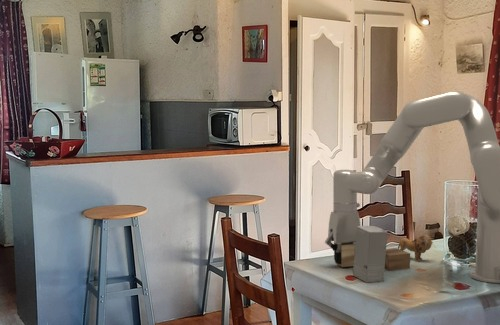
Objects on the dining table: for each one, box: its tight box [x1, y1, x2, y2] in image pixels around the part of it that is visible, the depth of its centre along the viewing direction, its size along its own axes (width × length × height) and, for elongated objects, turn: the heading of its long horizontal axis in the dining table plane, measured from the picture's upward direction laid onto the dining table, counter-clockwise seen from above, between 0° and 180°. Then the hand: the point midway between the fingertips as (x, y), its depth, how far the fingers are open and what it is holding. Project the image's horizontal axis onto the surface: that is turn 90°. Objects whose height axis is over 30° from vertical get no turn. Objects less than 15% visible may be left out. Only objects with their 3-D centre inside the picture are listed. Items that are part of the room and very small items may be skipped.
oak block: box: [335, 242, 355, 268], centre depth 198 cm, size 4×4×7 cm
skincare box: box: [352, 225, 389, 283], centre depth 184 cm, size 8×7×16 cm
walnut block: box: [384, 247, 411, 272], centre depth 198 cm, size 8×8×5 cm
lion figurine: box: [397, 234, 434, 263], centre depth 208 cm, size 15×5×9 cm, turn 46°
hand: (344, 261), depth 198 cm, fingers closed on oak block, 4 cm apart
